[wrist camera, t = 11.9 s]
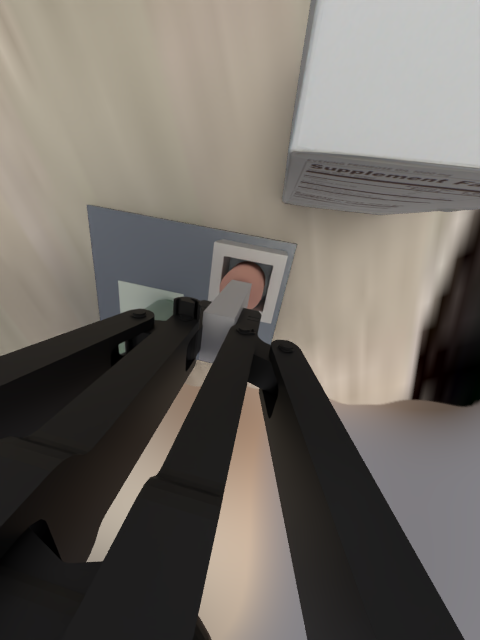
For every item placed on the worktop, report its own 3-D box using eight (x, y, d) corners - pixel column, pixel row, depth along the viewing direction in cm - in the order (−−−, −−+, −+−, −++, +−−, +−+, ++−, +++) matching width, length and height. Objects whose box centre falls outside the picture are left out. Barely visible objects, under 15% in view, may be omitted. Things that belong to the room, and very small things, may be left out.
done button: (226, 293, 23) (217, 306, 19) (232, 258, 21) (222, 265, 18) (261, 300, 22) (257, 315, 19) (268, 265, 21) (266, 274, 17)
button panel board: (105, 335, 30) (81, 350, 26) (91, 205, 23) (56, 201, 20) (262, 372, 28) (260, 394, 25) (296, 243, 22) (300, 248, 18)
